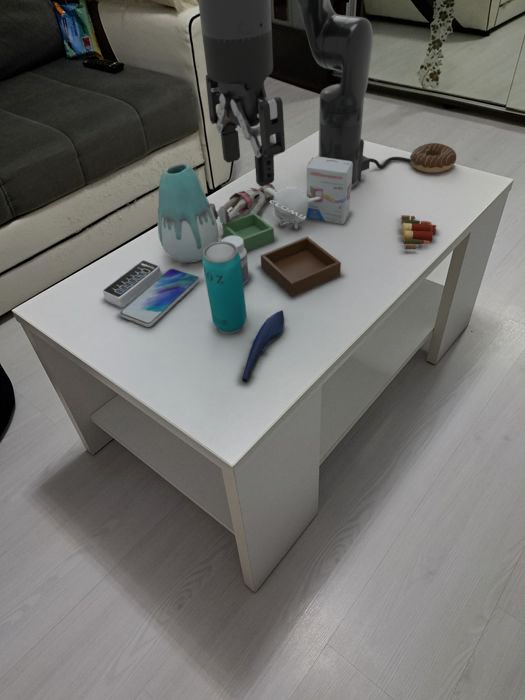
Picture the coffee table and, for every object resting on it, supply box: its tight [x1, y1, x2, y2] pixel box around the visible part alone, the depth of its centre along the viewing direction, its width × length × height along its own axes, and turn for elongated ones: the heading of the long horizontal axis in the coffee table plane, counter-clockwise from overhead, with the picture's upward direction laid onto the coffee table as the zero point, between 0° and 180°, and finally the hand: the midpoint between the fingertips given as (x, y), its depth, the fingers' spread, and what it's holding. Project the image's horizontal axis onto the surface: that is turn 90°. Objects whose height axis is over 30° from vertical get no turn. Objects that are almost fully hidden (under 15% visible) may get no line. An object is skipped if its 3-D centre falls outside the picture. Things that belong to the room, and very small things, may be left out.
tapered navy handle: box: [241, 310, 285, 383], centre depth 79 cm, size 16×4×2 cm, turn 157°
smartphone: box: [119, 268, 200, 328], centre depth 90 cm, size 7×1×15 cm
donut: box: [409, 142, 457, 174], centre depth 119 cm, size 11×11×4 cm
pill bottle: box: [221, 236, 250, 286], centre depth 90 cm, size 5×5×8 cm
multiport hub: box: [102, 260, 163, 309], centre depth 92 cm, size 4×11×2 cm, turn 147°
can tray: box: [260, 236, 342, 298], centre depth 93 cm, size 11×11×3 cm
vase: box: [157, 162, 219, 263], centre depth 94 cm, size 12×12×18 cm
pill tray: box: [221, 213, 275, 253], centre depth 102 cm, size 8×8×3 cm
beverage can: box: [201, 240, 247, 335], centre depth 79 cm, size 6×6×15 cm
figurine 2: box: [266, 185, 320, 230], centre depth 103 cm, size 12×8×10 cm
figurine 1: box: [209, 183, 276, 224], centre depth 107 cm, size 6×6×20 cm
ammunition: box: [400, 214, 437, 250], centre depth 99 cm, size 12×2×6 cm
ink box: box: [305, 155, 353, 225], centre depth 103 cm, size 9×5×12 cm, turn 68°
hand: (248, 171), depth 65 cm, fingers open, 8 cm apart
